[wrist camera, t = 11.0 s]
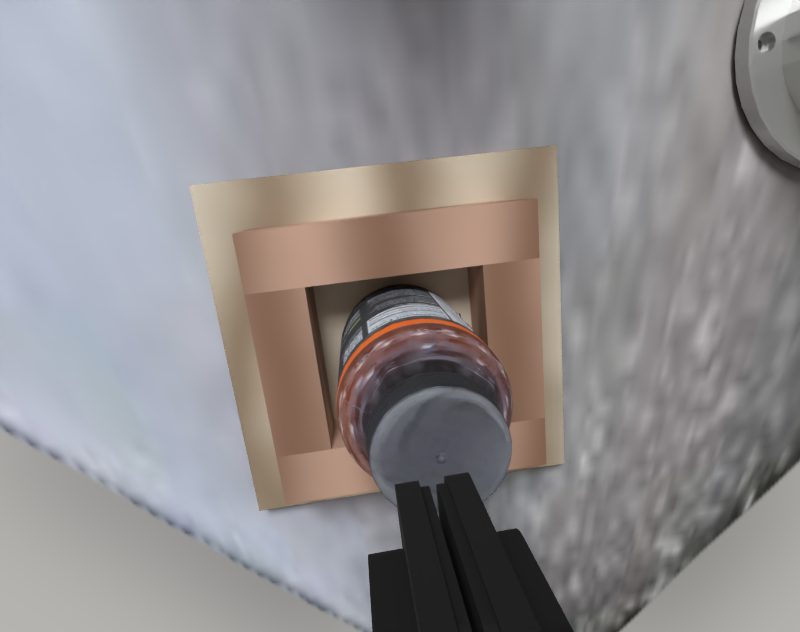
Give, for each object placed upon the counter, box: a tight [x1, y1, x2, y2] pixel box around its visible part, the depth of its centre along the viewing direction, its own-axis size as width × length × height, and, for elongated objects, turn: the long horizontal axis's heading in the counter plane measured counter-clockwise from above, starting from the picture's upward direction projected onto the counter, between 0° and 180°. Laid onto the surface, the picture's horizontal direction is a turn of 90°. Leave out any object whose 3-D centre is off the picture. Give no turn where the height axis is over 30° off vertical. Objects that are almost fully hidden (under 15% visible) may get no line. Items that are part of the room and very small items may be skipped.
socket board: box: [189, 145, 564, 511], centre depth 23 cm, size 17×17×4 cm
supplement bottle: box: [336, 284, 513, 517], centre depth 18 cm, size 6×6×11 cm
